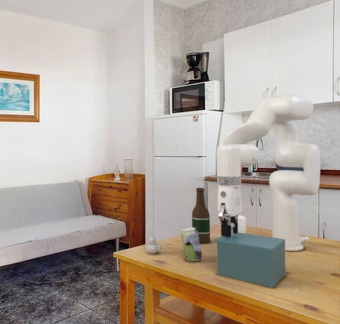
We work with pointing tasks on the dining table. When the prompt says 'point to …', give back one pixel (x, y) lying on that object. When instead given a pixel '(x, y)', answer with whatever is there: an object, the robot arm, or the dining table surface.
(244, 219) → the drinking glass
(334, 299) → the dining table surface
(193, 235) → the beverage can
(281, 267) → the teal rectangular box
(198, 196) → the beer bottle
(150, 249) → the white figurine
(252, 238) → the teal box lid
